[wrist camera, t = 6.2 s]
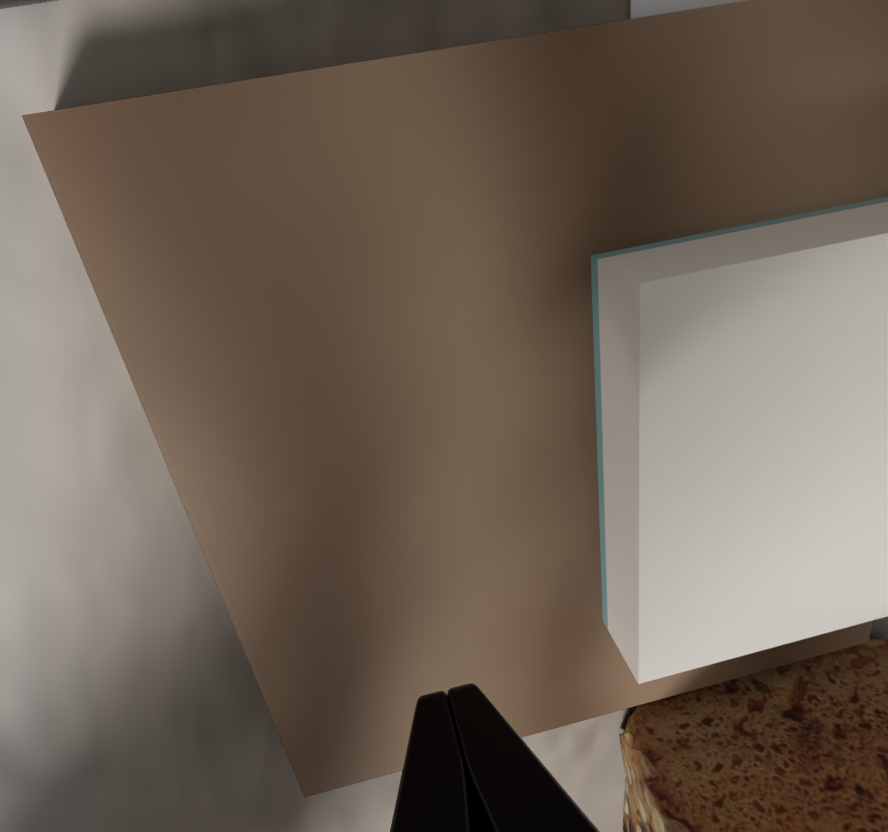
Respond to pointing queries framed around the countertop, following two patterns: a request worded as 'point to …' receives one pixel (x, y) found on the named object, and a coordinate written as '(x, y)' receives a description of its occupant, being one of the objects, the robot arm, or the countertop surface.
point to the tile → (742, 436)
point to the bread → (766, 751)
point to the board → (438, 333)
